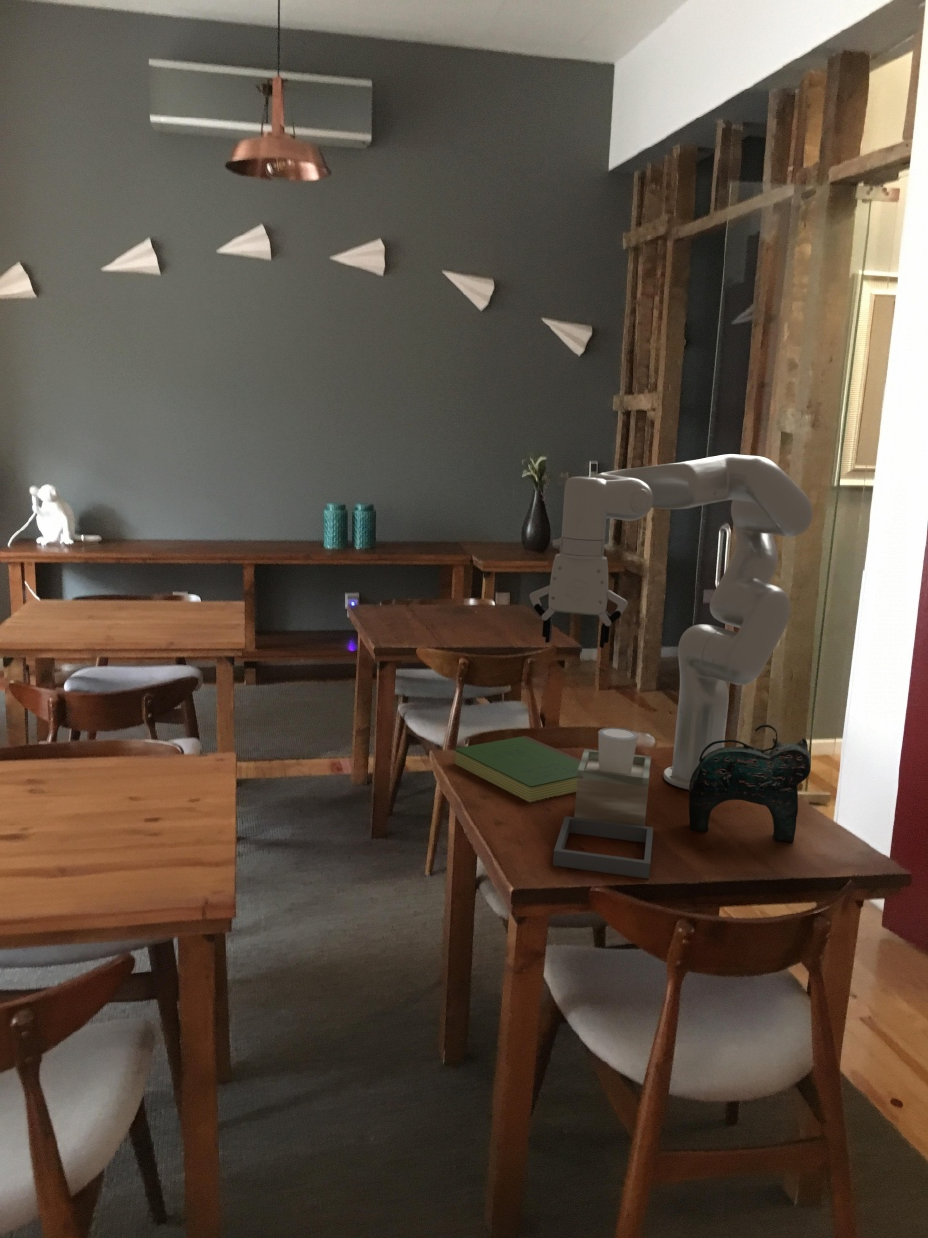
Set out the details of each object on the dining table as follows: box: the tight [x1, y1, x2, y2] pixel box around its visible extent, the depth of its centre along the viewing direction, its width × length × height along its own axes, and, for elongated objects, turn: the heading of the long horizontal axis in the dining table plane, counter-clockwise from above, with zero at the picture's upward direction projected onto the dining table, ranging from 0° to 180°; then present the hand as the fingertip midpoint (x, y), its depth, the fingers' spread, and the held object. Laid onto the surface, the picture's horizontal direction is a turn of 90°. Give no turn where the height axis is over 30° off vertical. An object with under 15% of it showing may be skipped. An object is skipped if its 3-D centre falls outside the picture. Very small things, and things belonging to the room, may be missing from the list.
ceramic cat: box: [688, 724, 812, 843], centre depth 175 cm, size 20×6×20 cm, turn 78°
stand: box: [573, 748, 652, 826], centre depth 180 cm, size 12×12×10 cm
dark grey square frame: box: [552, 815, 654, 880], centre depth 166 cm, size 15×15×2 cm
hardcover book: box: [453, 735, 582, 803], centre depth 201 cm, size 25×19×4 cm
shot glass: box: [597, 727, 639, 774], centre depth 178 cm, size 7×7×7 cm
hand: (575, 643), depth 180 cm, fingers open, 9 cm apart
